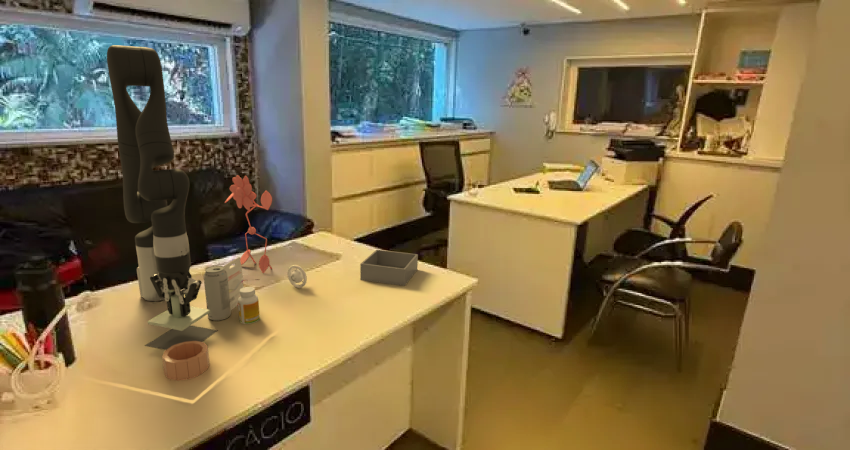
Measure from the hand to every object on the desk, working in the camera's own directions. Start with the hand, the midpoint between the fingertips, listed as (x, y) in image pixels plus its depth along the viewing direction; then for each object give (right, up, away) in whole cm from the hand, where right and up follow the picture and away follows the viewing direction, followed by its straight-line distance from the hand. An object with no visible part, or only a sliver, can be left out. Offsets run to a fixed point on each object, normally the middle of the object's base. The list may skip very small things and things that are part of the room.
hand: (179, 313), depth 117 cm
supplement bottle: (+13, -5, +12) cm, 19 cm away
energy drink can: (+4, -4, +13) cm, 15 cm away
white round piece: (+21, +2, +36) cm, 42 cm away
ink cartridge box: (+4, -2, +21) cm, 21 cm away
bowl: (+8, -11, -11) cm, 18 cm away
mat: (0, -7, +2) cm, 7 cm away
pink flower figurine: (-1, +6, +48) cm, 48 cm away
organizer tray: (+50, +5, +49) cm, 70 cm away
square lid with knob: (0, -1, 0) cm, 1 cm away
